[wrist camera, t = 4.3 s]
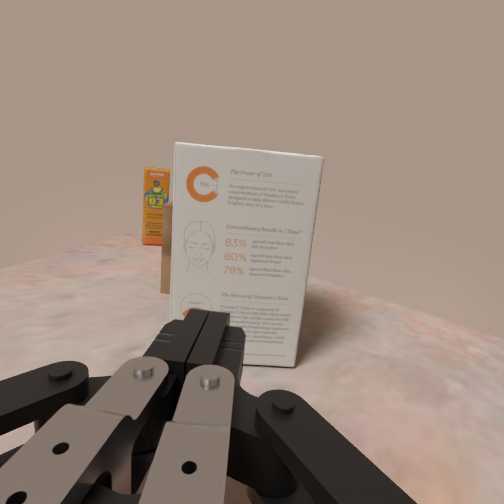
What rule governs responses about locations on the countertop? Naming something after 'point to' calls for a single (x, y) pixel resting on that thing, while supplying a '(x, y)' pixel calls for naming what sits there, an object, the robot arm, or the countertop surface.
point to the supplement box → (154, 203)
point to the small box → (245, 241)
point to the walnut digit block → (166, 247)
